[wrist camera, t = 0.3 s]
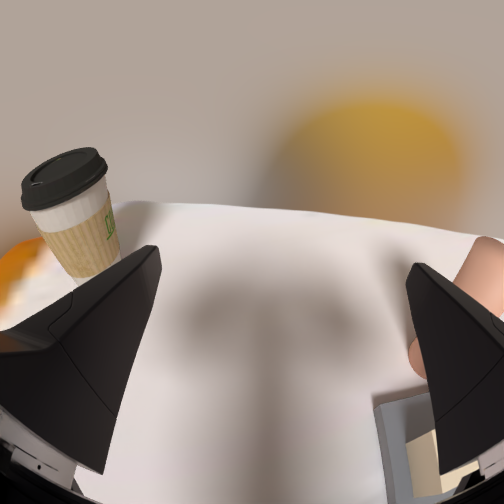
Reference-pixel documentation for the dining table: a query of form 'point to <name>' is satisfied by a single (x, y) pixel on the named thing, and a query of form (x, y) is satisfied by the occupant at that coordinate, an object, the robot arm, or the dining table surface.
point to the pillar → (475, 285)
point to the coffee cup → (74, 211)
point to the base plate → (393, 448)
